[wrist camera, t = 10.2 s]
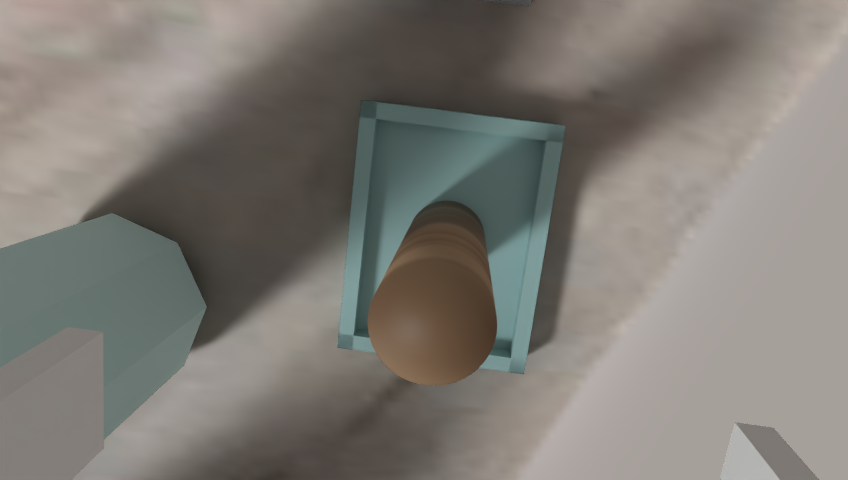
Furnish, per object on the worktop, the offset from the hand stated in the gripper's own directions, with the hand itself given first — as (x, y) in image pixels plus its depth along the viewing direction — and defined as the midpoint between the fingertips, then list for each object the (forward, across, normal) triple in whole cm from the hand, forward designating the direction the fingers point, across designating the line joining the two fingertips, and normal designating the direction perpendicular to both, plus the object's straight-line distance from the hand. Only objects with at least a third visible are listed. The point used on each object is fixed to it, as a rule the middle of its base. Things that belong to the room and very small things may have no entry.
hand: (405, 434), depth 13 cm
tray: (+22, 0, -1) cm, 22 cm away
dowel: (+21, 0, -1) cm, 21 cm away
